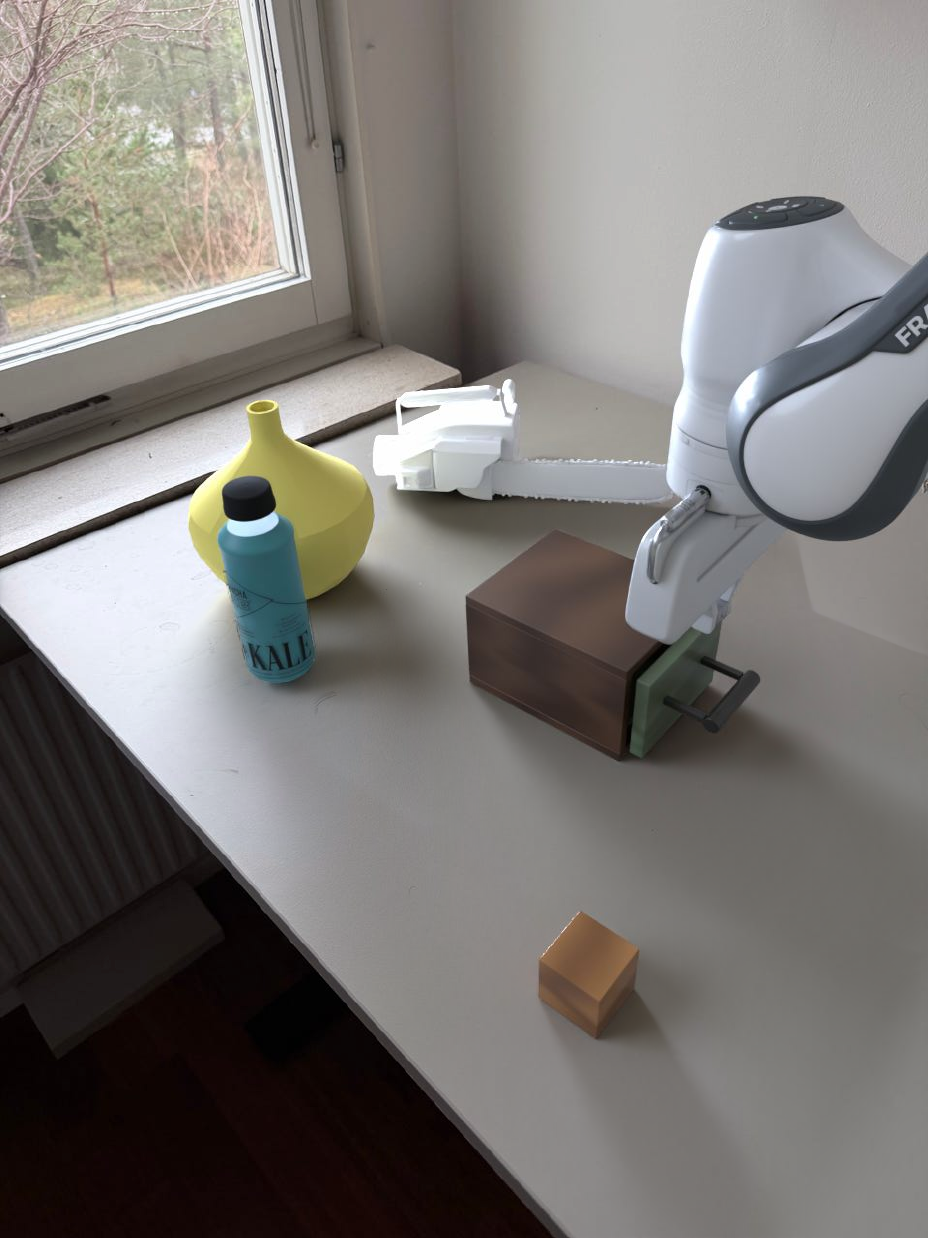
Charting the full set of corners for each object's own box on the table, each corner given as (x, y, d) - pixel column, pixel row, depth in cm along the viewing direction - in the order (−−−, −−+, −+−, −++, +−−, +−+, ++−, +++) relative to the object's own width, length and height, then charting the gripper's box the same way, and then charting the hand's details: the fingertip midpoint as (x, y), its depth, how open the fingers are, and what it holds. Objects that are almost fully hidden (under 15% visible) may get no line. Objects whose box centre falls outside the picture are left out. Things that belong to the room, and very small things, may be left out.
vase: (240, 523, 107) (204, 363, 95) (397, 531, 104) (380, 367, 92) (178, 623, 93) (126, 450, 81) (358, 635, 90) (332, 458, 78)
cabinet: (697, 677, 83) (710, 589, 77) (618, 762, 76) (627, 672, 70) (552, 611, 92) (554, 527, 86) (469, 682, 84) (464, 595, 78)
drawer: (764, 705, 79) (780, 632, 74) (696, 788, 72) (709, 714, 67) (573, 618, 89) (576, 549, 84) (498, 684, 82) (496, 613, 78)
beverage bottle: (279, 642, 90) (240, 456, 77) (335, 664, 87) (303, 475, 74) (233, 683, 85) (184, 493, 73) (290, 707, 83) (249, 514, 70)
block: (635, 987, 61) (640, 948, 58) (596, 1040, 58) (599, 1002, 55) (577, 948, 63) (579, 909, 60) (537, 998, 60) (538, 959, 58)
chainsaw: (677, 520, 103) (690, 416, 96) (369, 506, 108) (357, 407, 101) (674, 453, 115) (684, 356, 107) (395, 444, 120) (386, 350, 112)
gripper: (701, 546, 54) (676, 716, 63) (843, 415, 66) (806, 574, 75) (609, 511, 58) (597, 678, 66) (760, 392, 69) (733, 547, 78)
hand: (709, 621), depth 71 cm, fingers closed
